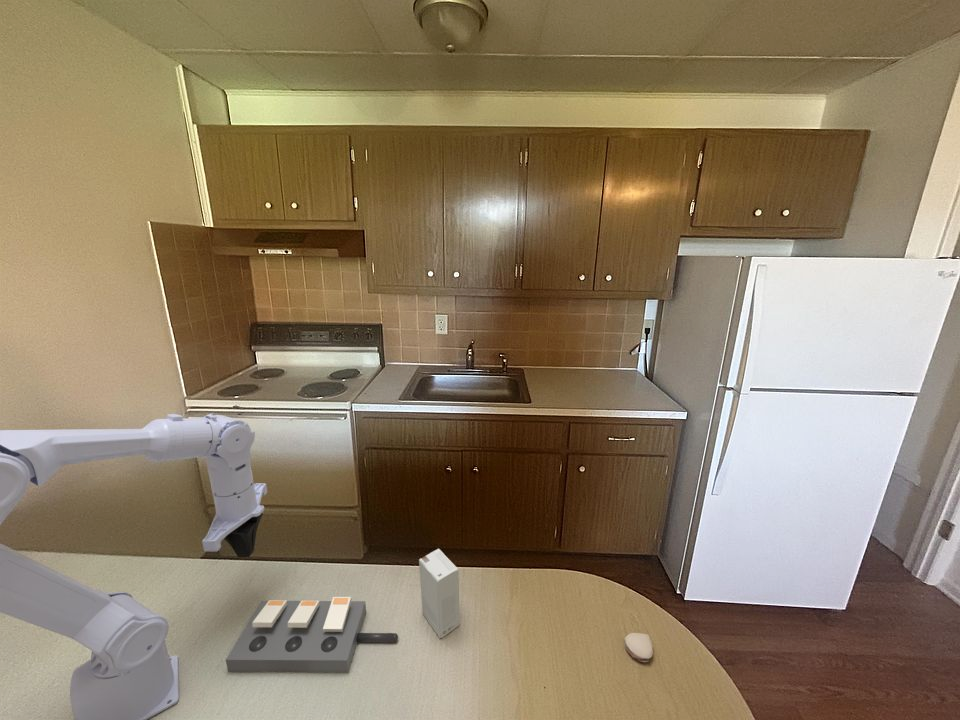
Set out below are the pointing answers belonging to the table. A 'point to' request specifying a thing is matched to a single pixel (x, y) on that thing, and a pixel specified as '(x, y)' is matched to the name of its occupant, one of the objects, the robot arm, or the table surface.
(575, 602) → the table surface
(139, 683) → the robot arm
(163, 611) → the table surface
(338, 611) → the rocker
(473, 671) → the table surface
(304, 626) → the rocker
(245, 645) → the power strip
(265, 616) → the white rectangular block
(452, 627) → the skincare box
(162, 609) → the table surface
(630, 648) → the white rounded oval piece
